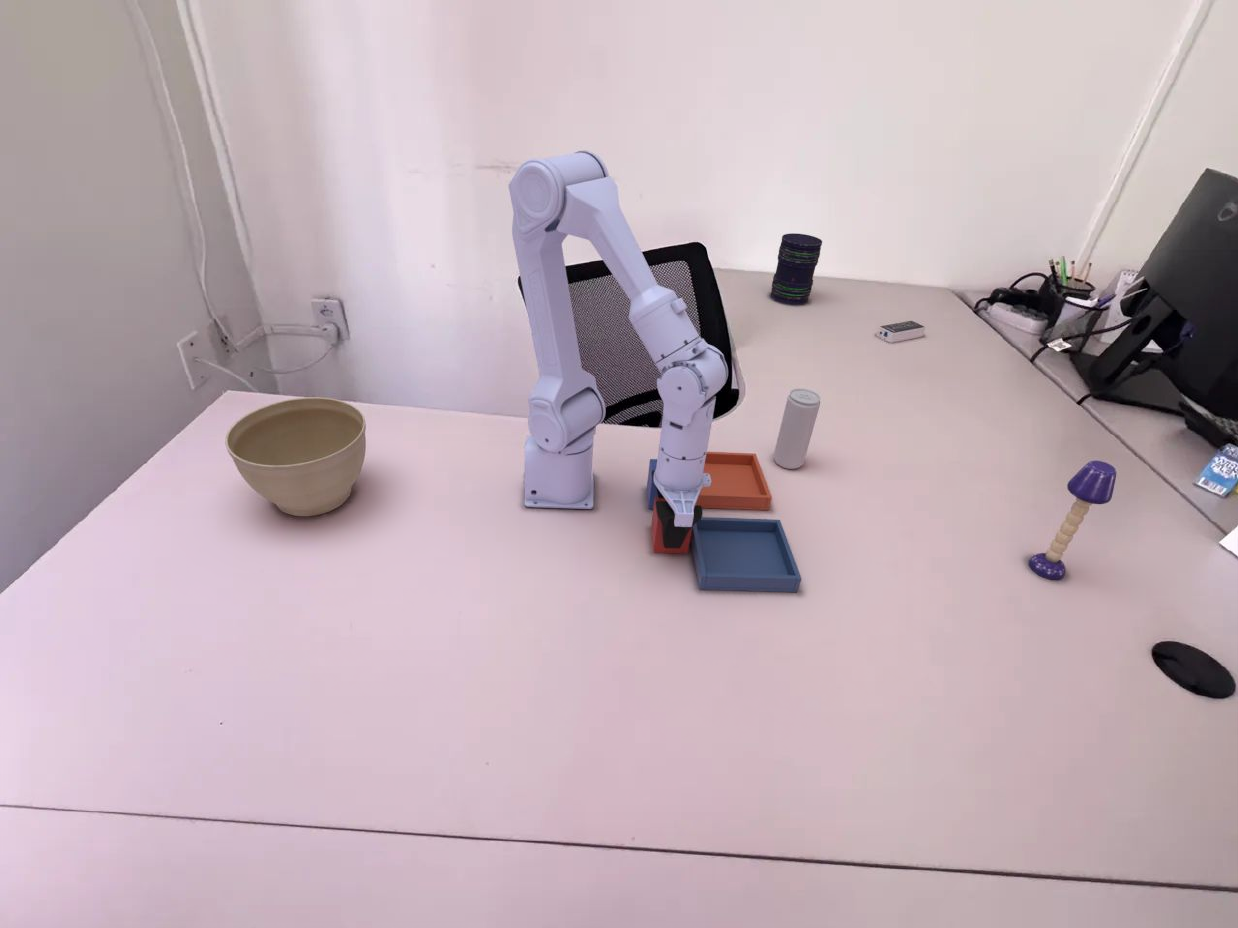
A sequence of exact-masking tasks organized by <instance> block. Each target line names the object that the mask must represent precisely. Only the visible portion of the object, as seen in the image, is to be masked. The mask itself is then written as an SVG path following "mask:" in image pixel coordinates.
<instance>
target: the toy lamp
mask: <svg viewBox="0 0 1238 928" xmlns="http://www.w3.org/2000/svg"><path fill="white" fill-rule="evenodd" d="M1116 478H1117V469H1116V468H1115V467H1114V466H1113V465H1112V464H1110V463H1108V462H1106V461H1103V460H1098V459H1097V460H1095V459H1094V460H1090V461H1088V462H1087V463H1085V464H1084V466H1082V468H1081V469H1080V470H1078V472H1077V473H1076V474H1075V475H1074V476H1072V477H1071V478H1070V480H1069V481H1068V482H1067V485H1066V487H1067V490H1068V492H1069V493H1070V494H1071V495H1072V496H1073V497H1075V501H1074V502H1073V503H1072V505H1071V506H1070V511H1068V513H1067V514H1066V515H1065V520H1063V522H1062V523H1061V525H1060V526H1059V527H1060V529H1059V530H1057V531H1056V533H1055V536H1054V537H1055V538H1053V540H1051V543H1050V547H1049V548H1047V550H1046V552H1040V553H1039V552H1038V553H1036V554H1033V556H1031V557H1030V558H1029V560H1028V565H1029V567H1030V569H1031V570H1032V572H1034V573H1035V574H1037V575H1038V576H1040V577H1042V578H1044V579H1046V580H1051V581H1052V580H1053V581H1058V580H1059V581H1060V580H1063V578H1064V577H1065V575H1066V566H1065V564H1064V562H1063V561H1062V557H1063V554H1064V553H1065V552H1066V550H1067V549H1068V547H1069V544H1070V543H1071V542H1072V541H1073V538H1074V535H1076V533H1077V532H1078V531H1079V526H1080V525H1081V524H1082V523H1083V521H1084V520H1085V518H1084V517H1085V516H1086V515H1087V514H1088V513H1089V511H1090V507H1091V506H1092V505H1106V504H1107V503H1109V502H1111V500H1112V498H1113V494H1114V490H1115V484H1116V480H1117V479H1116Z"/></svg>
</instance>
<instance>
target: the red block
mask: <svg viewBox="0 0 1238 928" xmlns="http://www.w3.org/2000/svg"><path fill="white" fill-rule="evenodd" d="M656 501H666V499H665V498H655V501H654V509H652V518H651V525H650V535H651V542H652V543H651V545H652V552H653V553H656V554H657V553H659V554H663V553H664V554H688V553H689V548H690V544H691V541H690V537H691V532H692V528H691V529H690V530H689V532H688V534H687V536H686V538H685V540H684V542H683V544H682V545H681V547H680V548H665V547H664V544H663V536H662V524H661V521H660V519H659V518H658V515H657V512H656V504H655V503H656Z"/></svg>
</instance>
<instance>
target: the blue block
mask: <svg viewBox="0 0 1238 928" xmlns="http://www.w3.org/2000/svg"><path fill="white" fill-rule="evenodd" d="M657 459H658V458H650V459H649V465H648V471H647V472H648V473H647V479H646V489H645V491H646V497H647V499H646V500H647V508H648V509H649V510H653V509H654V501H655V498H658V493H657V490H656V487H655V484H654V482H653V480H652V471H653V470H655V469H656V467H657Z"/></svg>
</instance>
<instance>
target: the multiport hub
mask: <svg viewBox="0 0 1238 928" xmlns="http://www.w3.org/2000/svg"><path fill="white" fill-rule="evenodd" d="M925 331H926V326H924V325H923V324H920V323H918V322H916V321H913V320H905V321H901V322H896V323H890V324H884V325H879V326H878V329H877V334H876V337H877V338H879V339H881V340H883V341H885V342H887V343H889V344H893V343H898V342H902V341H907V340H908V341H909V340H912V339H918V338H923V336H924V333H925Z"/></svg>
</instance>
